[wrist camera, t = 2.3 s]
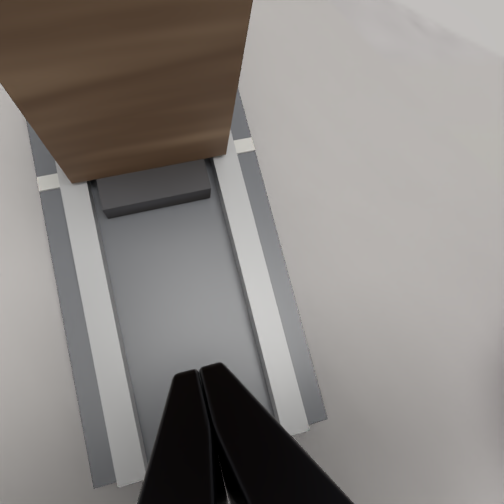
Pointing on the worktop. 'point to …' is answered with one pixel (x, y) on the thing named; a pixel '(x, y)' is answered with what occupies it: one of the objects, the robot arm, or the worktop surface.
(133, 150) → the fader handle
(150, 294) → the fader track
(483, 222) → the worktop surface
